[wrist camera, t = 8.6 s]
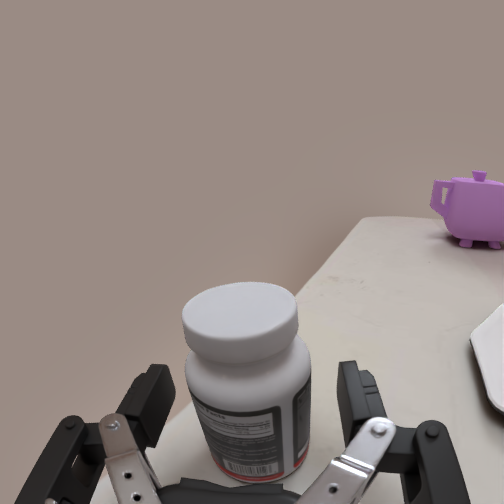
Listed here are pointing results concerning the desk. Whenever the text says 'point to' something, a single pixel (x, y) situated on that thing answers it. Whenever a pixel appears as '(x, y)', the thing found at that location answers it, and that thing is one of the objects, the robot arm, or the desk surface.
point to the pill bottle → (249, 378)
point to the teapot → (472, 208)
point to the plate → (491, 356)
